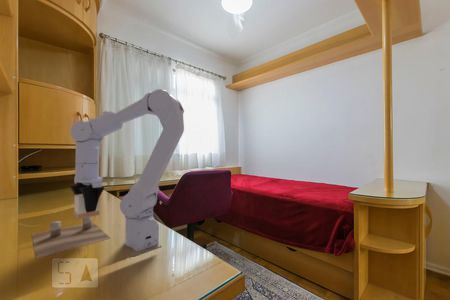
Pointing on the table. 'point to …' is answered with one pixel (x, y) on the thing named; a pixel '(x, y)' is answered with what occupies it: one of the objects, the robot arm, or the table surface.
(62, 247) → the pin board
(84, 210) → the sleeve
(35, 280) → the table surface
